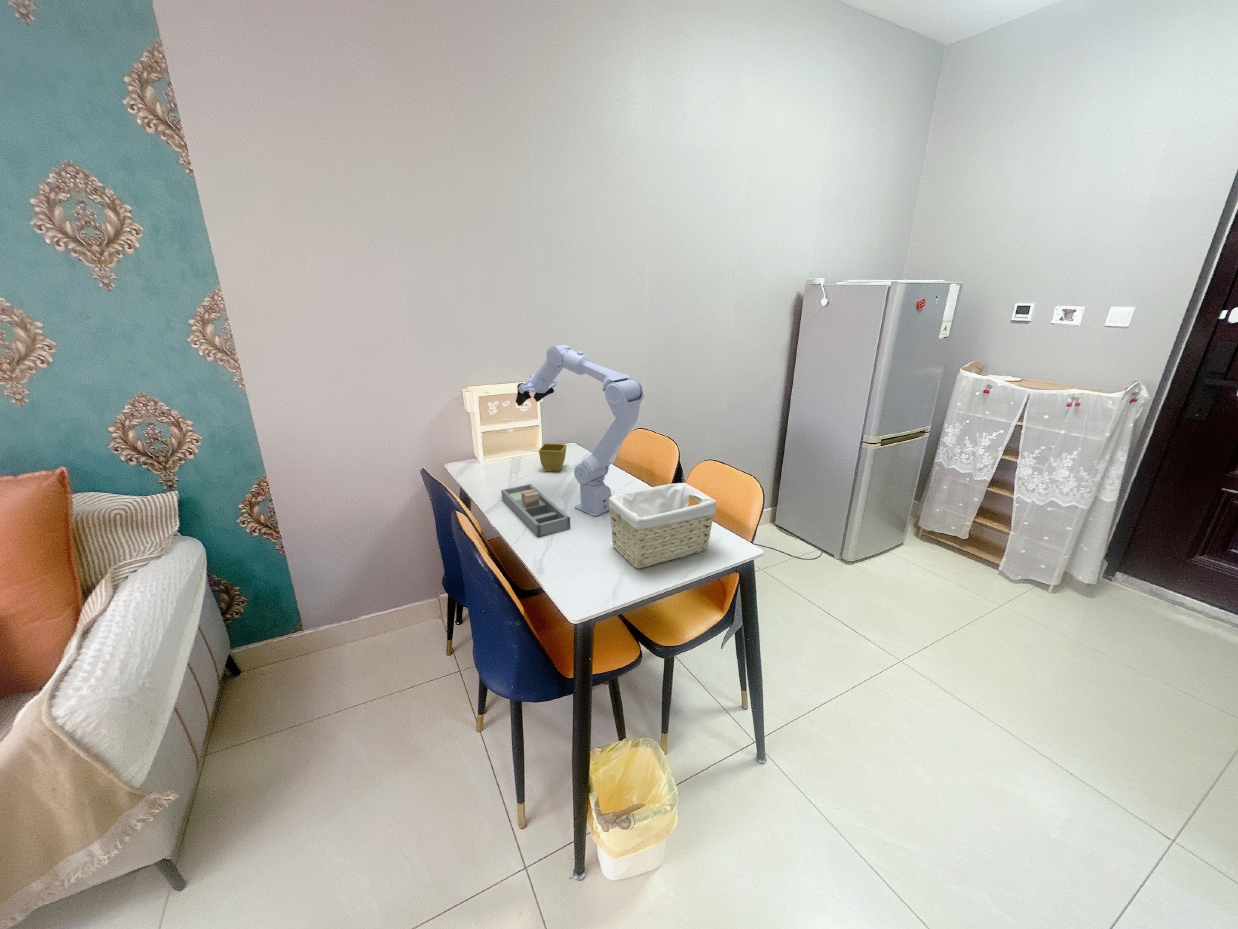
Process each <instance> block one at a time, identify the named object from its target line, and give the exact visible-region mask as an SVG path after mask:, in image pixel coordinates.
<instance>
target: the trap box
mask: <svg viewBox="0 0 1238 929" xmlns="http://www.w3.org/2000/svg"><path fill="white" fill-rule="evenodd" d="M532 489H534V490H535V491H536V492H537V493H539V506H535V507H530V508H526V507H525V506H524V505H523V504H522V495H521V492H522V491H527V490H532ZM500 491H501V501H502V502H504V504H505V505H506V506H507V507H508V508H509V509H510V510H511V511H512V512H513V513H514V514H515V515H516V516H517V517H518V518H519V519H520V520H521V521H522V522H523V524H524V525H525V526H526V527H527V528H528V529H529V530H530V531H531V532H532V533H533V534H534V535H535V537H537V538H540V537H544V536H543V535H545V536H548V535H547V534H549V535H552V534H551V533H553V534H556V533H559V532H558V531H560V532H563V530H564V531H566V529H567V530H570V529H569V528H571V516H569V515H568V514H566V513H565V512H564V511H563V510H562V509H561V508H559V507H558V506H557V505H556V504H555V503H554V502H552V501H551V500H550V499H549V498H547V497H546V495H544V494H543V493H542V492H540V490H538V489H537V488H536V487H535V486H533V485H532V484H531V483H529V484H528V483H527V484H525V485H524V484H523V485H518V486H515V487H509V488H505V489H501V490H500ZM555 532H556V533H555Z"/></svg>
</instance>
